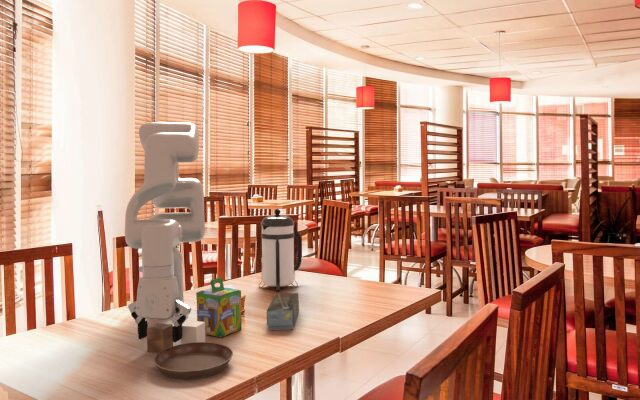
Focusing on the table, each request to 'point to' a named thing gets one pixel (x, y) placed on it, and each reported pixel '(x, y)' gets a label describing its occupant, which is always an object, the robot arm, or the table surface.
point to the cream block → (193, 332)
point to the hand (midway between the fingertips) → (160, 339)
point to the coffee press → (279, 251)
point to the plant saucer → (193, 360)
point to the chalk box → (219, 309)
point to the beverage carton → (283, 311)
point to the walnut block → (159, 337)
